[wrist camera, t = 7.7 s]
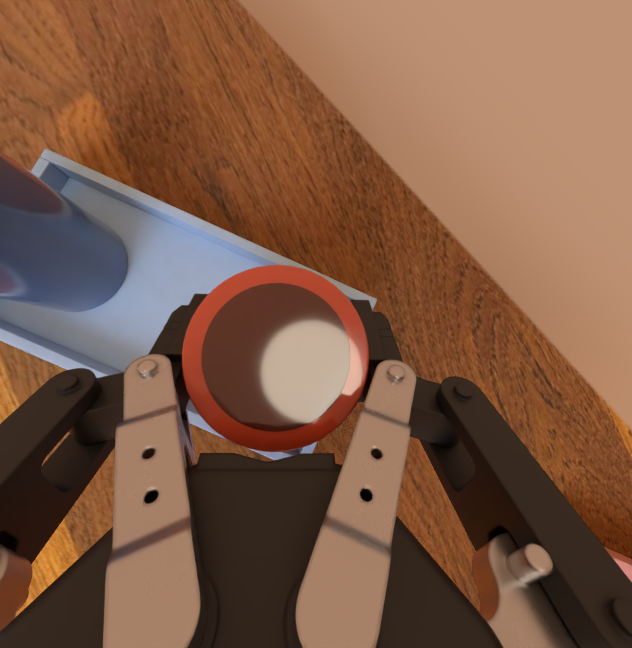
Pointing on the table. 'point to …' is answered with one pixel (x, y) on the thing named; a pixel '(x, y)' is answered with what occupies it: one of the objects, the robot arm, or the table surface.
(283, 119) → the table surface
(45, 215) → the blue pot
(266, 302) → the red spoon pot
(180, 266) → the blue tray
